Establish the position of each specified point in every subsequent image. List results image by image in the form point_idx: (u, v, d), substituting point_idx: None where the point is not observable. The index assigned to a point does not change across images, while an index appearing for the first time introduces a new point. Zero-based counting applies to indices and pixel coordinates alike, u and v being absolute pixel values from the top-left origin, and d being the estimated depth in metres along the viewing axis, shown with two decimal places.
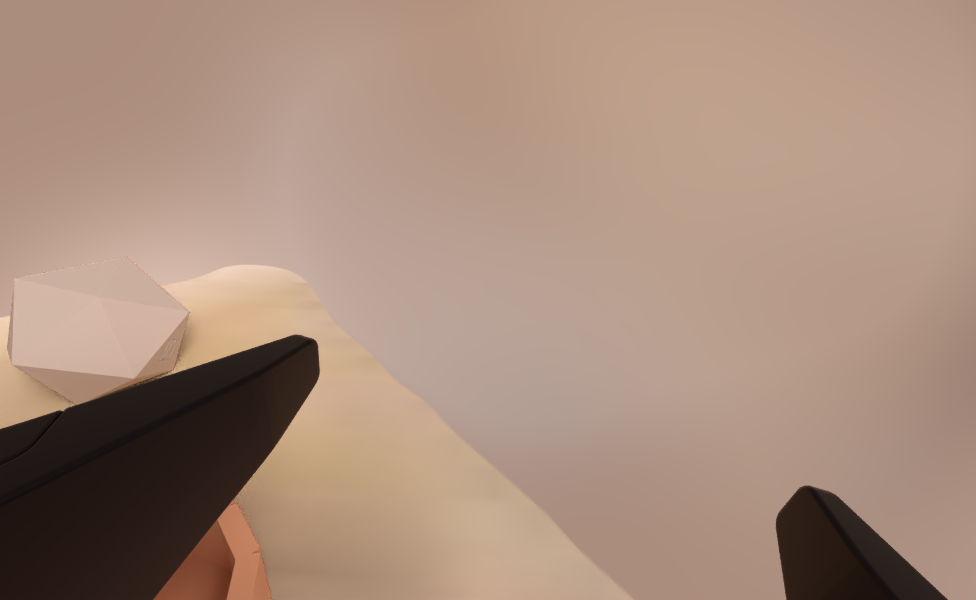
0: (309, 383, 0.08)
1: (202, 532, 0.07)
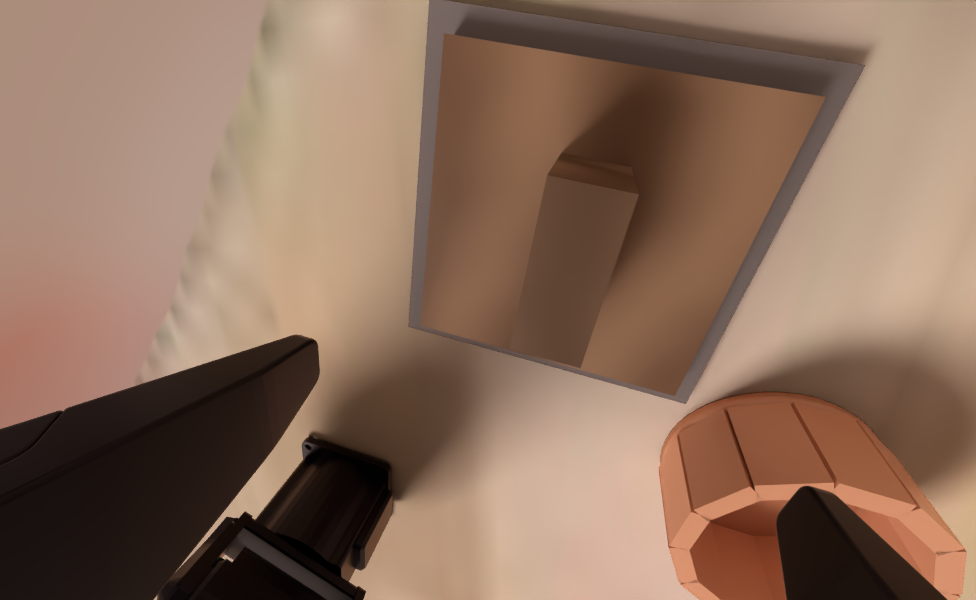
0: (309, 383, 0.08)
1: (202, 532, 0.07)
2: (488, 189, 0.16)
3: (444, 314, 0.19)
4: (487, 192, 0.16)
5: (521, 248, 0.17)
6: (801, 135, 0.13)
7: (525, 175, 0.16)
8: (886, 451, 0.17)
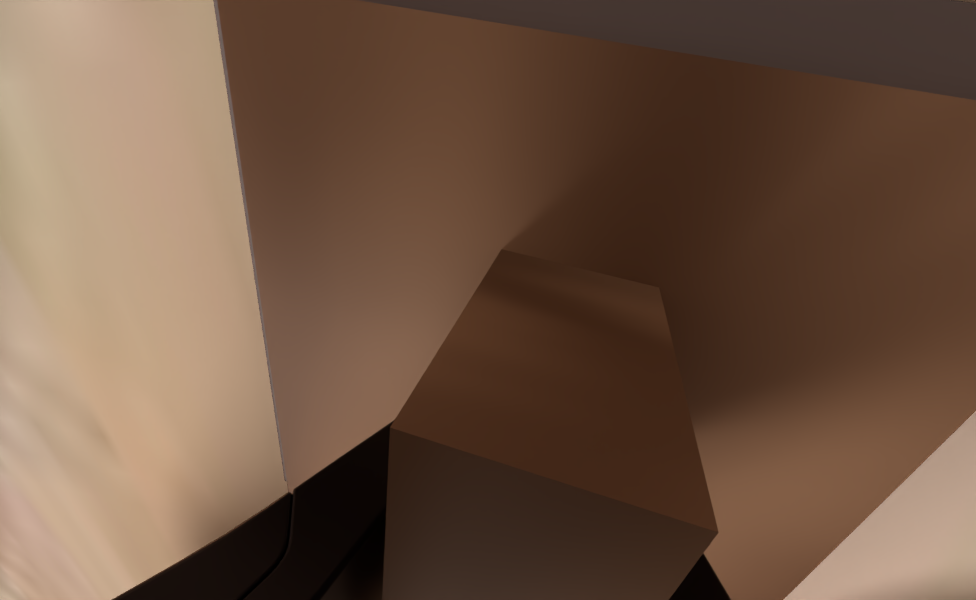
0: None
1: None
2: (363, 308, 0.08)
3: None
4: (362, 312, 0.08)
5: None
6: None
7: (432, 288, 0.07)
8: None
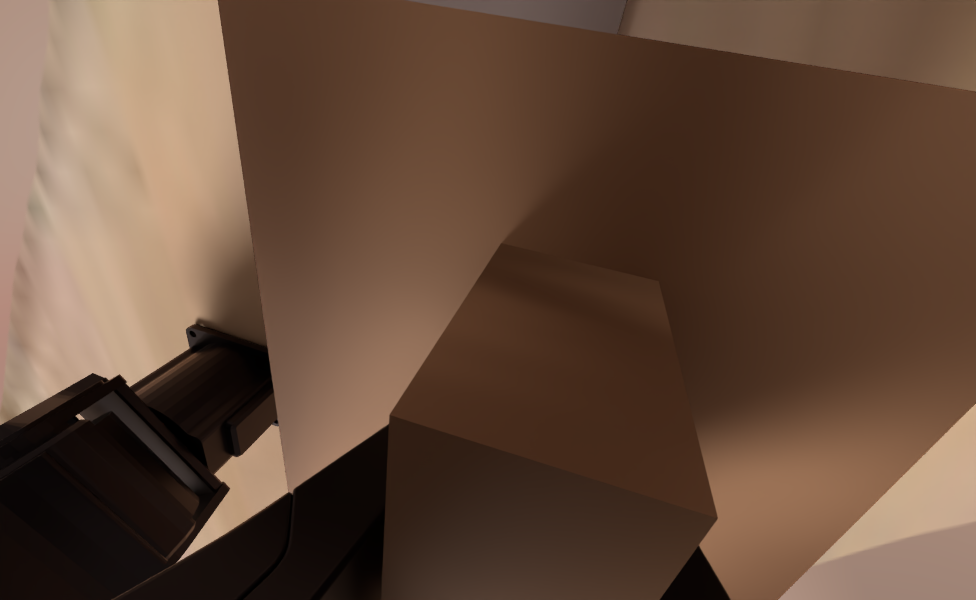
0: None
1: None
2: (363, 302, 0.08)
3: None
4: (362, 307, 0.08)
5: None
6: None
7: (432, 282, 0.07)
8: None
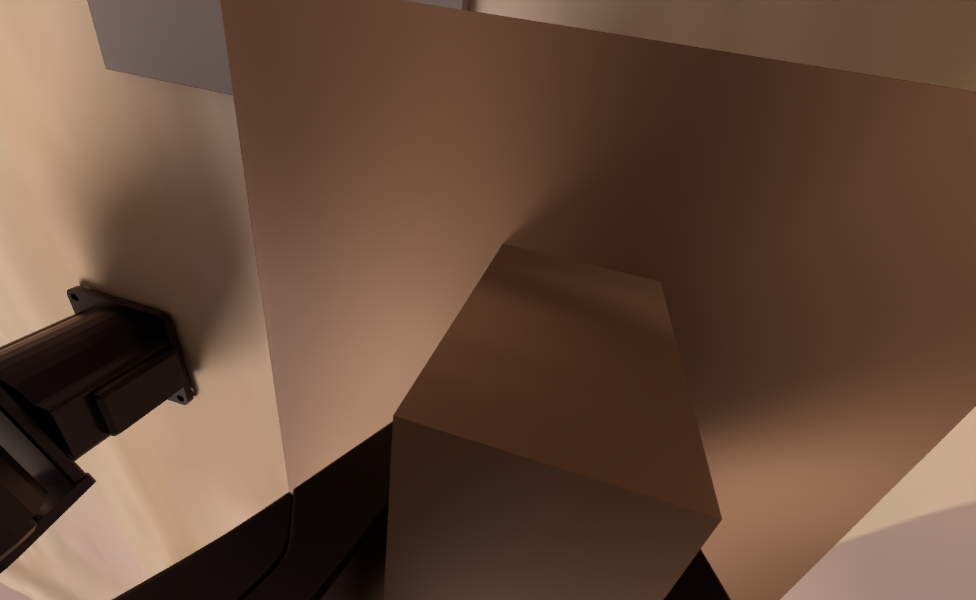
0: None
1: None
2: (364, 303, 0.08)
3: None
4: (364, 307, 0.08)
5: None
6: None
7: (433, 283, 0.07)
8: None
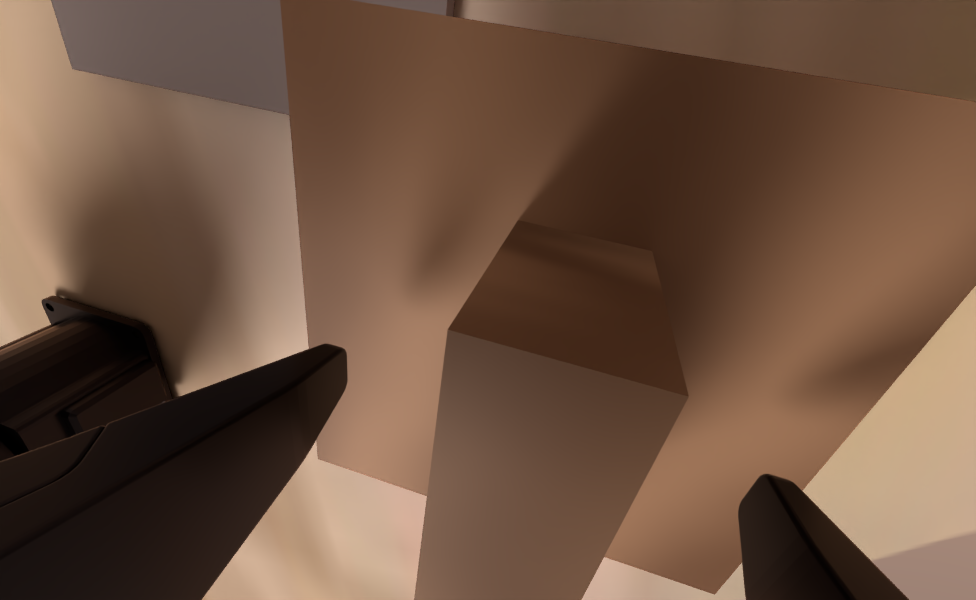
0: (338, 392, 0.08)
1: (237, 545, 0.06)
2: (395, 275, 0.09)
3: (350, 448, 0.12)
4: (394, 279, 0.09)
5: None
6: None
7: (457, 256, 0.09)
8: None
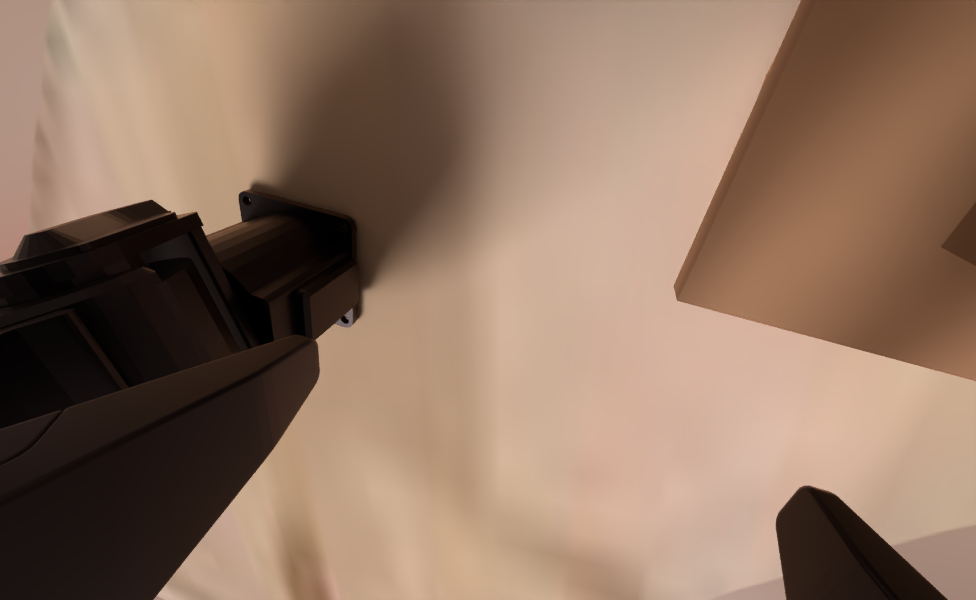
0: (309, 383, 0.08)
1: (202, 532, 0.07)
2: (953, 12, 0.08)
3: (734, 281, 0.11)
4: (947, 19, 0.08)
5: (974, 146, 0.09)
6: None
7: None
8: None
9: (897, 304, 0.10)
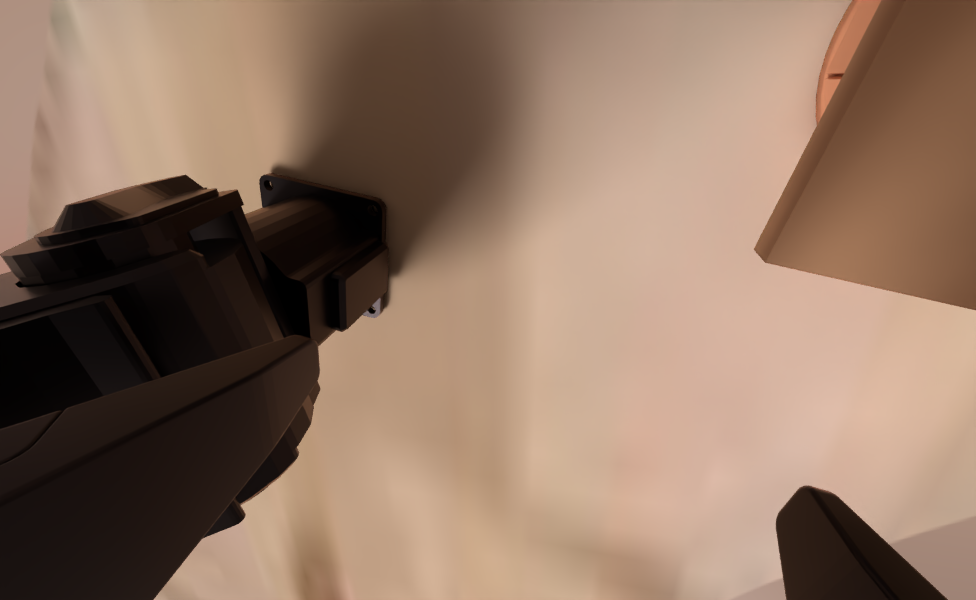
0: (309, 383, 0.08)
1: (202, 532, 0.07)
2: None
3: (831, 238, 0.10)
4: None
5: None
6: None
7: None
8: None
9: None
